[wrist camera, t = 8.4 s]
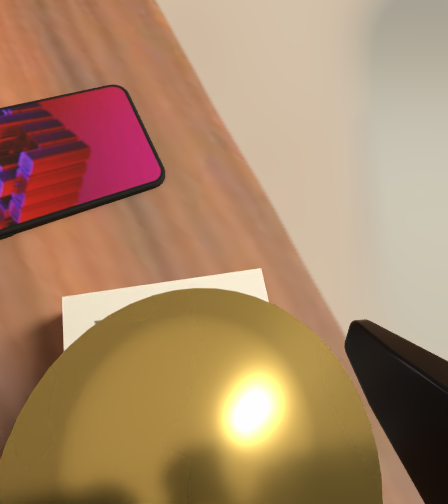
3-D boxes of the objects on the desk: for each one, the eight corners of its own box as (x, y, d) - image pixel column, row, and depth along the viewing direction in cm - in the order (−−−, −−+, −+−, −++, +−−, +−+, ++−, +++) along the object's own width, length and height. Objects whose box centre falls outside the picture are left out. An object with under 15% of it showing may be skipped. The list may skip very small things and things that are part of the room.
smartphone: (170, 180, 18) (-148, 282, 13) (170, 188, 18) (-129, 286, 14) (122, 80, 19) (-174, 142, 15) (124, 91, 20) (-156, 153, 16)
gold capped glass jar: (215, 441, 14) (382, 780, 3) (121, 425, 14) (-107, 748, 3) (231, 344, 16) (383, 323, 4) (146, 327, 15) (74, 256, 4)
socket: (287, 460, 14) (309, 480, 12) (89, 517, 13) (70, 554, 10) (248, 280, 17) (261, 268, 15) (79, 305, 15) (62, 296, 13)
